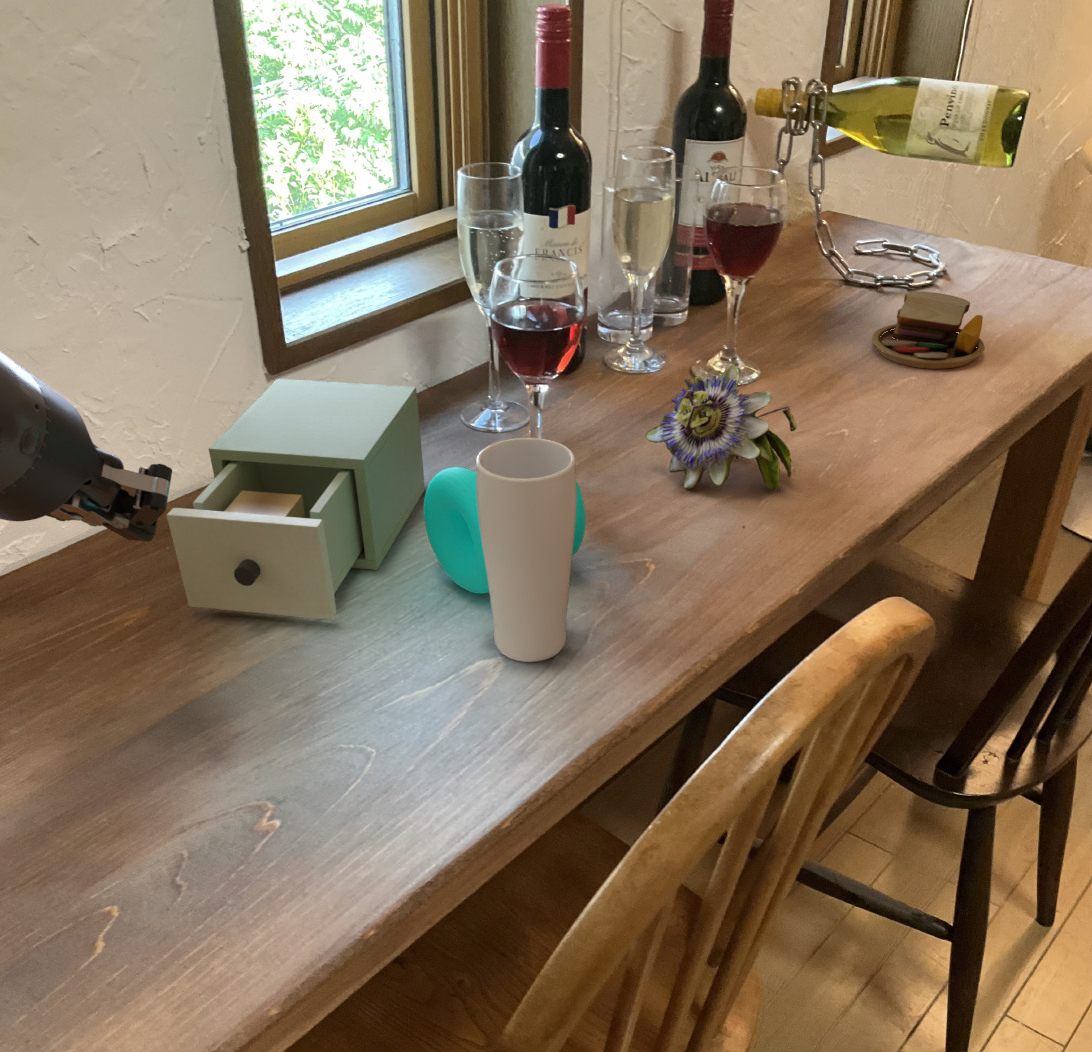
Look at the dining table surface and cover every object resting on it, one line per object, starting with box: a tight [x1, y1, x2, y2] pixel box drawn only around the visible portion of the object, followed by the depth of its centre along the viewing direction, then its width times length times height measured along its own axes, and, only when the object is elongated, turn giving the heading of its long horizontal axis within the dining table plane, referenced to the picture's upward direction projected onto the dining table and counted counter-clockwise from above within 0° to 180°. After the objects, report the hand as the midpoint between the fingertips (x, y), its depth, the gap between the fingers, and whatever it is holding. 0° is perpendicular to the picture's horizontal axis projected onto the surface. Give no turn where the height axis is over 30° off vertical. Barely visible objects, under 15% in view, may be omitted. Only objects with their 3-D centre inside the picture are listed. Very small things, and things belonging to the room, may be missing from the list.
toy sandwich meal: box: [871, 291, 986, 370], centre depth 129 cm, size 12×14×5 cm
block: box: [224, 491, 306, 518], centre depth 88 cm, size 5×5×5 cm
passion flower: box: [644, 363, 798, 492], centre depth 104 cm, size 11×11×12 cm
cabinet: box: [208, 378, 426, 571], centre depth 97 cm, size 15×13×10 cm
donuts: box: [423, 466, 587, 595], centre depth 89 cm, size 10×10×10 cm
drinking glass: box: [475, 437, 577, 663], centre depth 79 cm, size 7×7×15 cm
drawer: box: [166, 461, 364, 621], centre depth 89 cm, size 15×12×8 cm
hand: (143, 526), depth 74 cm, fingers closed
